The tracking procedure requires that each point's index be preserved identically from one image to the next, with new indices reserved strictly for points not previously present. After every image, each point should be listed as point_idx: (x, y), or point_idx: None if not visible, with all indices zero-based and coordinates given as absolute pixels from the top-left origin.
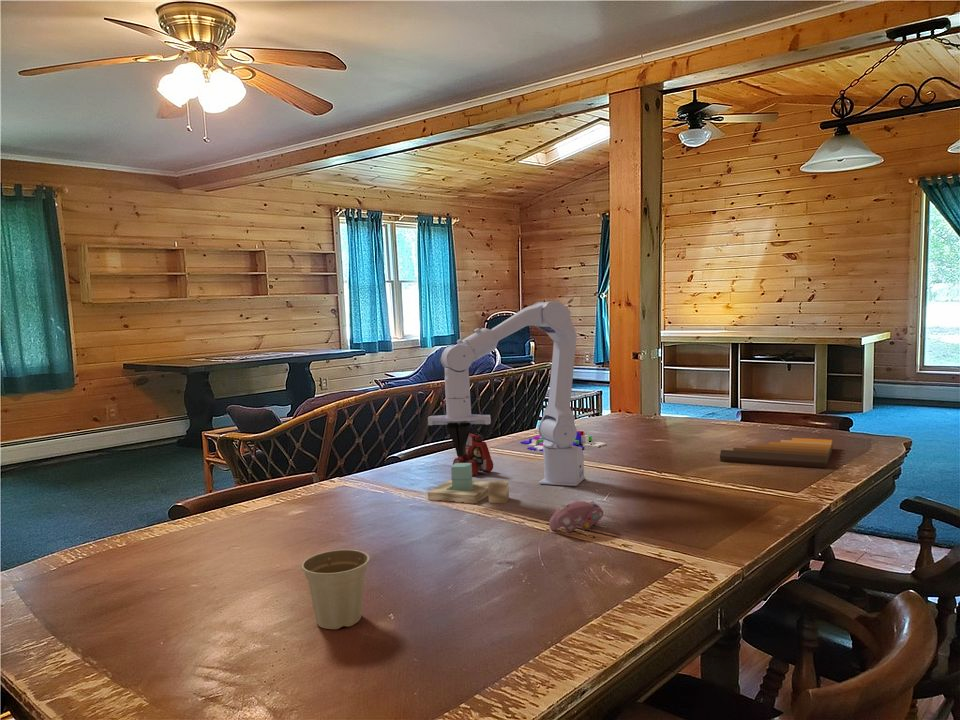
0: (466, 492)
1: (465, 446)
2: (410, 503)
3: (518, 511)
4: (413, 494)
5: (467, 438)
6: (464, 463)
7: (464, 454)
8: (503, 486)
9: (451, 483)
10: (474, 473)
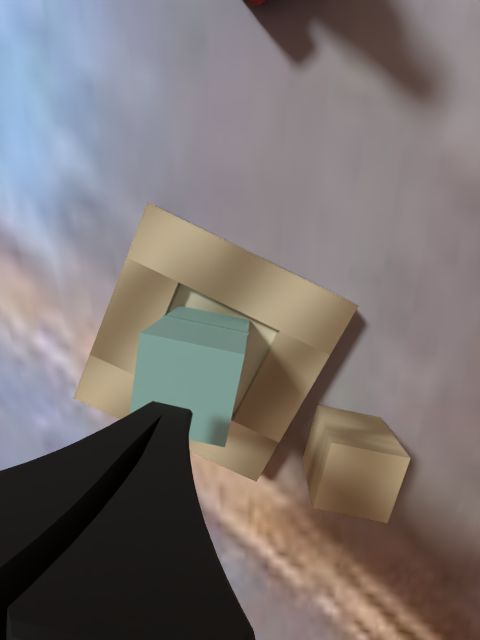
0: None
1: (188, 443)
2: (37, 412)
3: (385, 560)
4: (21, 300)
5: (194, 488)
6: (200, 359)
7: (191, 420)
8: (375, 517)
9: (154, 284)
10: (262, 2)
